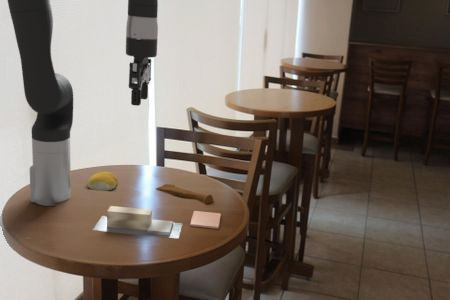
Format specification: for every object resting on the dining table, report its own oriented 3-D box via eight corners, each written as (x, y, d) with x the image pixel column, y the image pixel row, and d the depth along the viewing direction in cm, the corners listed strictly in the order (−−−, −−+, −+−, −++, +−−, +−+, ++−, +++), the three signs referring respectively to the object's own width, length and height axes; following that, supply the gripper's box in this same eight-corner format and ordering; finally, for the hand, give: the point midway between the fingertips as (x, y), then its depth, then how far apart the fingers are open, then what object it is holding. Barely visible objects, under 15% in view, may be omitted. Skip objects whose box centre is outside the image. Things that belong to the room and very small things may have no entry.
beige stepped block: (105, 229, 108) (105, 213, 107) (111, 218, 114) (112, 203, 113) (169, 235, 108) (170, 219, 107) (172, 224, 114) (173, 209, 113)
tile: (190, 224, 114) (218, 226, 114) (194, 210, 121) (220, 213, 121) (189, 231, 114) (218, 234, 114) (193, 217, 122) (220, 220, 122)
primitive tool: (154, 190, 138) (155, 178, 137) (167, 185, 142) (168, 174, 142) (206, 209, 128) (207, 197, 127) (218, 204, 132) (219, 192, 131)
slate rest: (92, 234, 108) (92, 230, 107) (102, 219, 115) (102, 215, 115) (178, 242, 107) (178, 238, 107) (182, 227, 115) (182, 223, 115)
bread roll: (119, 181, 142) (119, 169, 141) (113, 192, 133) (114, 179, 132) (91, 179, 141) (91, 167, 140) (84, 190, 133) (84, 177, 131)
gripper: (133, 33, 120) (131, 96, 125) (119, 36, 107) (117, 105, 111) (162, 36, 120) (159, 98, 125) (151, 39, 107) (148, 108, 111)
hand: (139, 101), depth 118 cm, fingers open, 8 cm apart
